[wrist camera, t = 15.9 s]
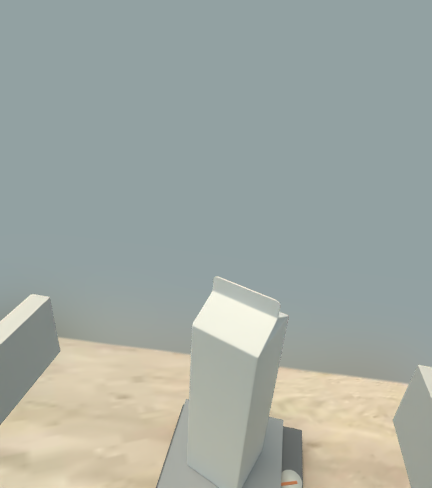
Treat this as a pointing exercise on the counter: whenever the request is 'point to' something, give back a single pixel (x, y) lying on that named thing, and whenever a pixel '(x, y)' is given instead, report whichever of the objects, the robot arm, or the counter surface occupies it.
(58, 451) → the counter surface
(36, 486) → the counter surface
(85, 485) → the counter surface
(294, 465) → the kitchen scale
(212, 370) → the milk
